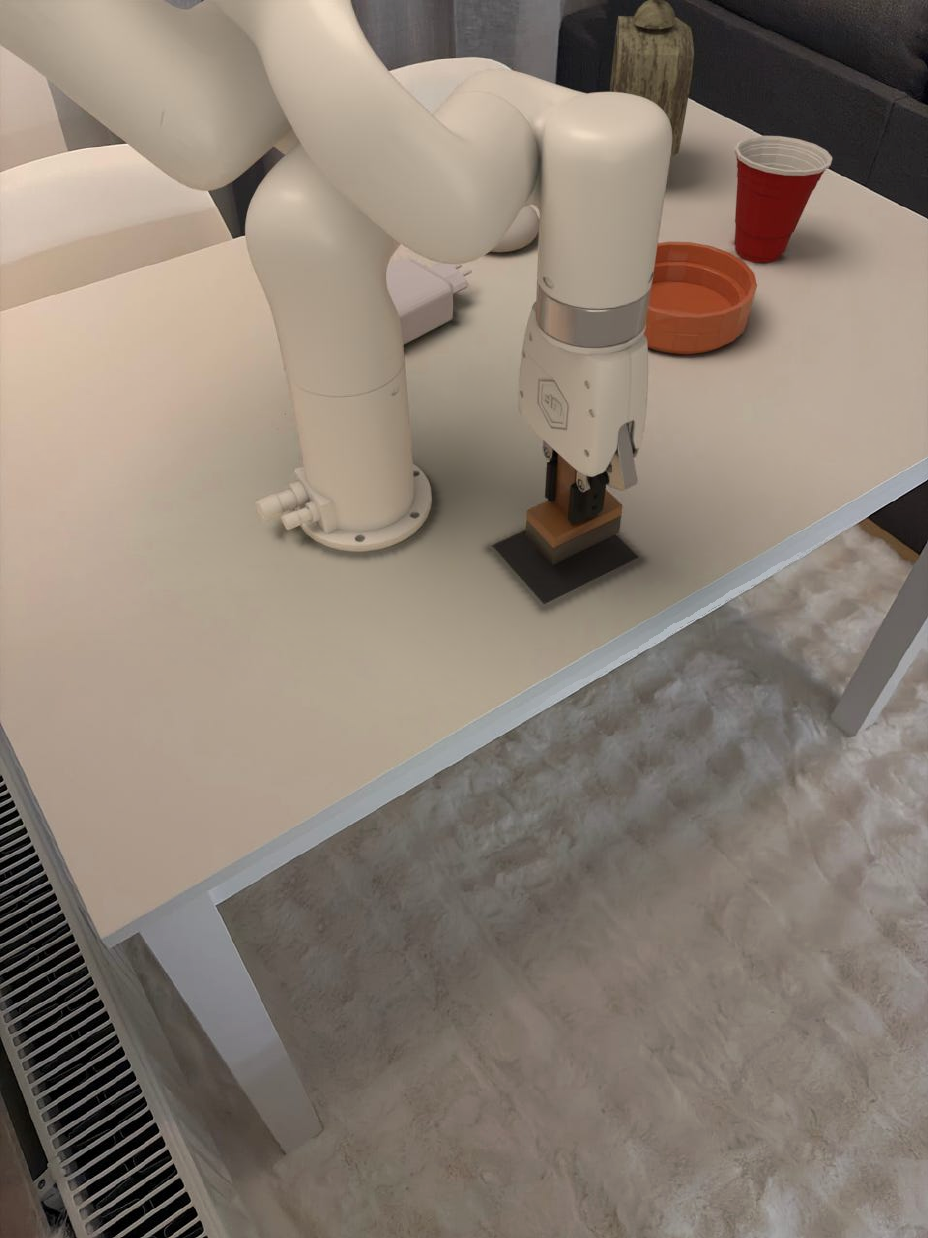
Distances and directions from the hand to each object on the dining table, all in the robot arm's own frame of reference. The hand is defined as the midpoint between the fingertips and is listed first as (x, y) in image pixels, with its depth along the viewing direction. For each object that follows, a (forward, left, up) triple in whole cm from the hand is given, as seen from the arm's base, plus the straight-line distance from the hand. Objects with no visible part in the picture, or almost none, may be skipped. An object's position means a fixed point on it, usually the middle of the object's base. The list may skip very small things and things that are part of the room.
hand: (573, 503), depth 75 cm
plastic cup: (+50, +29, -6) cm, 58 cm away
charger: (+8, +40, -6) cm, 41 cm away
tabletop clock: (+50, +53, -6) cm, 73 cm away
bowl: (+32, +23, -6) cm, 40 cm away
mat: (0, 0, -6) cm, 6 cm away
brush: (0, 0, -4) cm, 4 cm away
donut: (+25, +49, -6) cm, 55 cm away
